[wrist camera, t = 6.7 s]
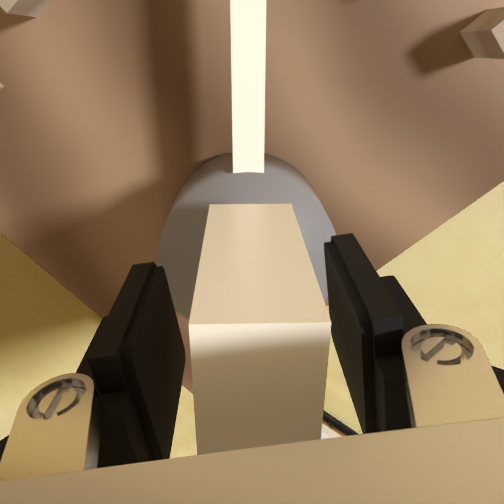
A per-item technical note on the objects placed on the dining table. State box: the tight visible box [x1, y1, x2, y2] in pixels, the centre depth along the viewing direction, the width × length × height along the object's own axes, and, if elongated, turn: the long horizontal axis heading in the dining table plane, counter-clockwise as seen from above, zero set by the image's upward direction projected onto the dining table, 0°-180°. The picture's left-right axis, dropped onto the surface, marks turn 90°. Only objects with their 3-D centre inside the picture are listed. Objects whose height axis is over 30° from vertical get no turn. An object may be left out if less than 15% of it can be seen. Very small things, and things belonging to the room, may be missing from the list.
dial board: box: [0, 0, 504, 394], centre depth 15 cm, size 19×18×4 cm
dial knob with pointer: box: [157, 0, 336, 455], centre depth 11 cm, size 13×6×10 cm, turn 0°
